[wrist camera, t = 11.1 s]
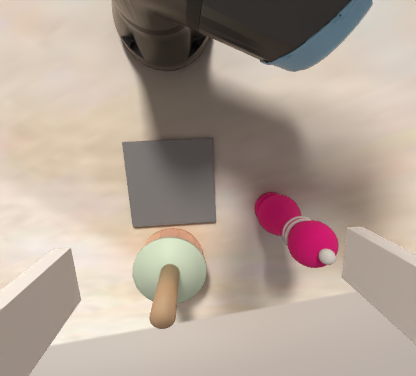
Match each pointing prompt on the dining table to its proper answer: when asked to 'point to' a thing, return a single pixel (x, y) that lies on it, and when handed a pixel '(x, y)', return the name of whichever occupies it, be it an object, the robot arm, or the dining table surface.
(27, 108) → the dining table surface
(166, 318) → the plunger
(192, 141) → the mat
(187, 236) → the bowl
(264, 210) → the pepper mill
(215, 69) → the dining table surface
